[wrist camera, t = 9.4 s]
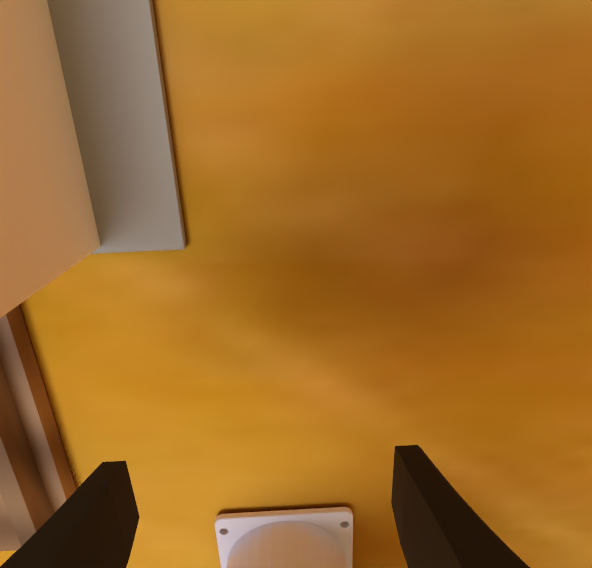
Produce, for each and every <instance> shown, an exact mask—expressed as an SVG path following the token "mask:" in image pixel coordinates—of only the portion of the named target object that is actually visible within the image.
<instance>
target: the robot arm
mask: <svg viewBox="0 0 592 568" xmlns="http://www.w3.org/2000/svg"><path fill="white" fill-rule="evenodd" d="M391 503H392V508H393V512H394V517H395V522H396V526H397V530H398V535H399V539H400V543H401V547H402V550H403V553H404V556H405V559H406V562H407V565H408V568H530V567H529V566H528V565H526V564H525V563H524V562H523V561H522V560H521V559H520V558H519V557H518V556H517V555H516V554H515V553H514V552H513V551H512V550H511V549H510V548H509V547H508V546H507V545H506V544H505V543H504V542H503V541H502V540H501V539H500V538H499V537H498V536H497V535H496V534H495V533H494V532H493V531H492V530H491V529H490V528H489V527H488V526H487V525H486V524H485V523H484V522H483V520H482V519H481V518H480V517H479V516H478V515H477V514H476V513H475V512H474V511H473V510H472V508H471V507H470V506H469V505H468V504H467V503H466V502H465V501H464V500H463V498H462V497H461V496H460V495H459V494H458V493H457V492H456V490H455V489H454V488H453V487H452V486H451V485H450V483H449V482H448V481H447V480H446V479H445V477H444V476H443V475H442V474H441V473H440V471H439V470H438V469H437V468H436V466H435V465H434V464H433V463H432V461H431V460H430V459H429V458H428V456H427V455H426V454H425V453H424V451H423V450H422V449H421V448H420V447H419V446H418V445H409V446H395V454H394V470H393V486H392V501H391ZM138 520H139V513H138V509H137V505H136V501H135V497H134V493H133V489H132V485H131V481H130V477H129V472H128V468H127V464H126V461H115V462H102V463H101V465H100V466H99V467H98V468H97V469H96V470H95V471H94V472H93V473H92V474H91V475H90V476H89V477H88V478H87V479H86V480H85V481H84V482H83V483H82V484H81V485H80V486H79V488H78V489H77V490H76V491H75V492H74V493H73V494H72V495H71V496H70V497H69V498H68V499H67V500H66V501H65V502H64V503H63V505H62V506H61V507H60V508H59V509H58V510H57V511H56V512H55V513H54V514H53V515H52V516H51V517H50V518H49V519H48V520H47V521H46V522H45V523H44V524H43V525H42V526H41V527H40V528H39V529H38V530H37V531H36V532H35V533H34V534H33V535H32V536H31V537H30V538H29V539H28V540H27V541H26V542H25V543H24V544H23V545H22V546H21V547H20V548H19V549H18V550H17V551H16V552H15V553H14V554H13V555H12V556H11V557H10V558H9V559H8V560H7V561H6V562H5V563H4V564H3V565H2V566H1V567H0V568H126V566H127V563H128V560H129V557H130V553H131V549H132V545H133V541H134V537H135V533H136V529H137V525H138ZM344 521H345V522H344ZM224 528H225V529H224ZM215 532H216V538H217V545H218V551H219V558H220V564H221V568H352V555H353V514H352V510H351V509H350V508H348V507H332V508H315V509H297V510H280V511H262V512H244V513H227V514H220V515H218V516H217V517H216V519H215Z"/></svg>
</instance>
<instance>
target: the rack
mask: <svg viewBox="0 0 592 568" xmlns="http://www.w3.org/2000/svg"><path fill="white" fill-rule="evenodd" d="M76 490H77V489H76V486H75V483H74V480H73V477H72V473H71V470H70V467H69V464H68V460H67V457H66V454H65V451H64V448H63V444H62V441H61V438H60V435H59V431H58V428H57V425H56V422H55V419H54V415H53V412H52V409H51V406H50V402H49V399H48V396H47V393H46V390H45V386H44V383H43V380H42V377H41V373H40V370H39V367H38V364H37V361H36V357H35V354H34V351H33V348H32V344H31V341H30V338H29V335H28V332H27V328H26V325H25V322H24V319H23V315H22V312H21V309H20V306H19V305H18V306H16V307H15V308H14V309H12V310H11V311H9V312H8V313H7V314H5V315H4V316H2V317H1V318H0V551H9V550H18V549H19V548H20V547H21V546H22V545H23V544H24V543H25V542H26V541H27V540H28V539H29V538H30V537H31V536H32V535H33V534H34V533H35V532H36V531H37V530H38V529H39V528H40V527H41V526H42V525H43V524H44V523H45V522H46V521H47V520H48V519H49V518H50V517H51V516H52V515H53V514H54V513H55V512H56V511H57V510H58V509H59V508H60V507H61V506H62V505H63V503H64V502H65V501H66V500H67V499H68V498H69V497H70V496H71V495H72V494H73V493H74V492H75V491H76Z"/></svg>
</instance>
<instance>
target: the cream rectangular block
mask: <svg viewBox="0 0 592 568" xmlns="http://www.w3.org/2000/svg"><path fill="white" fill-rule="evenodd" d="M99 247H101V245H100V241H99V236H98V232H97V227H96V223H95V218H94V213H93V209H92V204H91V200H90V195H89V190H88V186H87V181H86V177H85V172H84V168H83V163H82V158H81V154H80V149H79V145H78V140H77V135H76V131H75V126H74V122H73V117H72V113H71V108H70V103H69V99H68V94H67V90H66V85H65V80H64V76H63V71H62V67H61V62H60V58H59V53H58V48H57V44H56V39H55V35H54V30H53V25H52V21H51V16H50V12H49V7H48V3H47V0H0V318H1V317H2V316H4V315H5V314H7V313H8V312H9V311H11V310H12V309H14V308H15V307H16V306H18V305H19V304H21V303H22V302H23V301H25V300H26V299H28V298H29V297H31V296H32V295H33V294H35V293H36V292H38V291H39V290H40V289H42V288H43V287H45V286H46V285H47V284H49V283H50V282H52V281H53V280H54V279H56V278H57V277H59V276H60V275H61V274H63V273H64V272H66V271H67V270H68V269H70V268H71V267H73V266H74V265H76V264H77V263H78V262H80V261H81V260H83V259H84V258H85V257H87V256H88V255H90V254H91V253H92V252H94V251H95V250H97V249H98V248H99Z"/></svg>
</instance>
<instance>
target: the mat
mask: <svg viewBox="0 0 592 568" xmlns="http://www.w3.org/2000/svg"><path fill="white" fill-rule="evenodd" d="M47 3H48V7H49V12H50V16H51V21H52V25H53V30H54V35H55V39H56V44H57V48H58V53H59V58H60V62H61V67H62V71H63V76H64V80H65V85H66V90H67V94H68V99H69V103H70V108H71V113H72V117H73V122H74V126H75V131H76V135H77V140H78V145H79V149H80V154H81V158H82V163H83V168H84V172H85V177H86V181H87V186H88V190H89V195H90V200H91V204H92V209H93V213H94V218H95V223H96V227H97V232H98V236H99V241H100V245H101V247H99V248H98V249H97V250H95V251H94V252H92V253H114V252H136V251H157V250H179V249H185V248H186V246H187V245H186V238H185V230H184V223H183V216H182V209H181V202H180V195H179V188H178V180H177V173H176V166H175V159H174V152H173V145H172V137H171V130H170V123H169V116H168V109H167V102H166V94H165V87H164V80H163V73H162V66H161V59H160V52H159V44H158V37H157V30H156V23H155V16H154V9H153V1H152V0H47ZM92 253H91V254H92Z"/></svg>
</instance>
